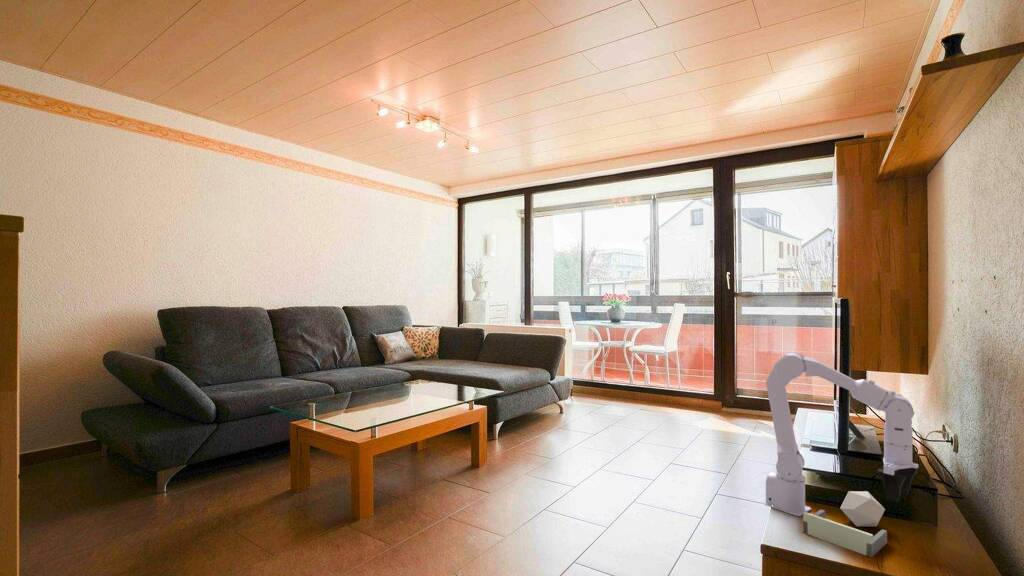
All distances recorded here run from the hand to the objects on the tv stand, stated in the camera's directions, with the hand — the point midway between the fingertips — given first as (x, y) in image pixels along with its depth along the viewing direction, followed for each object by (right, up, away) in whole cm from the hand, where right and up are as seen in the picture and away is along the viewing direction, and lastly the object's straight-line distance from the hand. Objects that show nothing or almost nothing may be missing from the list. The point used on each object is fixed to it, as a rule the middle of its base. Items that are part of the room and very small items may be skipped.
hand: (897, 496), depth 124 cm
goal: (-15, -9, -3) cm, 18 cm away
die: (-6, -10, +5) cm, 12 cm away
